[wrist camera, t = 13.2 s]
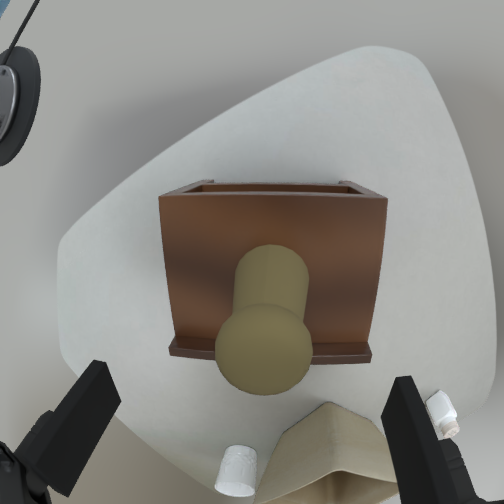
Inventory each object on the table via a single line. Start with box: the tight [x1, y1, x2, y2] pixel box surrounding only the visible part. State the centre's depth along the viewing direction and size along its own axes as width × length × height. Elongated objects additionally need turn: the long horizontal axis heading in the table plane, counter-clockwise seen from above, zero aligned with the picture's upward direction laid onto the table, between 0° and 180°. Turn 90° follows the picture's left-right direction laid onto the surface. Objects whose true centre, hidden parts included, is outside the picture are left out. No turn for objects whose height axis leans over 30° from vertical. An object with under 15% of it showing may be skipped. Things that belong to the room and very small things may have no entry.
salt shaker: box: [426, 390, 459, 438], centre depth 39 cm, size 4×4×10 cm
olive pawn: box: [215, 244, 313, 396], centre depth 19 cm, size 6×6×11 cm
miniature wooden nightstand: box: [158, 180, 388, 365], centre depth 29 cm, size 14×18×16 cm
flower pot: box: [253, 402, 399, 504], centre depth 39 cm, size 19×19×17 cm
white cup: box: [215, 445, 257, 497], centre depth 48 cm, size 8×8×10 cm
